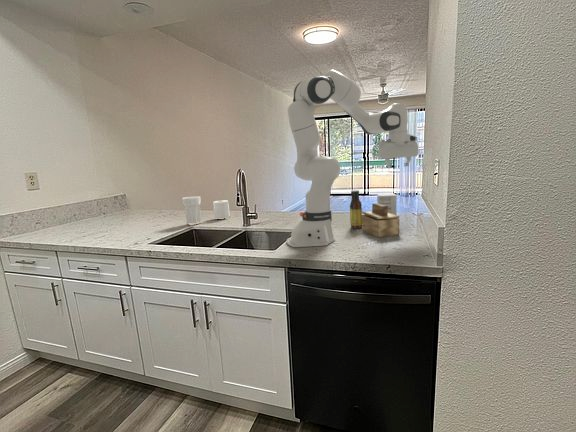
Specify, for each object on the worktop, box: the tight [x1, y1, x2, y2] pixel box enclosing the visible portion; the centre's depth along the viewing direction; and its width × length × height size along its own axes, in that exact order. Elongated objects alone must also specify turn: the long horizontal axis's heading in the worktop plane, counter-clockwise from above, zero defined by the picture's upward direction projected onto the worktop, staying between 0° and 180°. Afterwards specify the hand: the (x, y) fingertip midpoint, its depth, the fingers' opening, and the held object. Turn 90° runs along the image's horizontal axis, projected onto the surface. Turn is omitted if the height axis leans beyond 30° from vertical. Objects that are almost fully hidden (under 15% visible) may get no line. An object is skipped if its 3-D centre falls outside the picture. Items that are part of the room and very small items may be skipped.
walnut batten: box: [371, 202, 388, 216], centre depth 160 cm, size 3×10×4 cm, turn 12°
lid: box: [362, 210, 400, 219], centre depth 160 cm, size 11×17×1 cm
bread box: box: [361, 214, 400, 238], centre depth 161 cm, size 11×17×8 cm
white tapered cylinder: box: [212, 199, 231, 219], centre depth 223 cm, size 10×10×12 cm
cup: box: [181, 195, 202, 224], centre depth 210 cm, size 11×11×17 cm
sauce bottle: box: [349, 189, 363, 229], centre depth 173 cm, size 7×6×20 cm
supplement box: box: [376, 192, 398, 215], centre depth 174 cm, size 10×9×17 cm
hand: (398, 167), depth 162 cm, fingers open, 8 cm apart
